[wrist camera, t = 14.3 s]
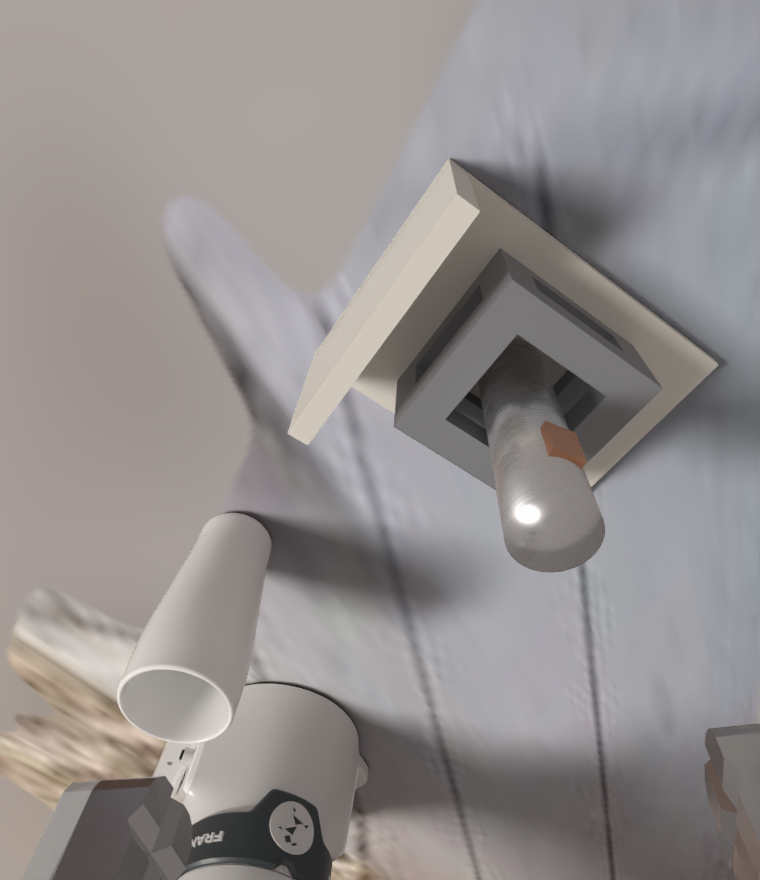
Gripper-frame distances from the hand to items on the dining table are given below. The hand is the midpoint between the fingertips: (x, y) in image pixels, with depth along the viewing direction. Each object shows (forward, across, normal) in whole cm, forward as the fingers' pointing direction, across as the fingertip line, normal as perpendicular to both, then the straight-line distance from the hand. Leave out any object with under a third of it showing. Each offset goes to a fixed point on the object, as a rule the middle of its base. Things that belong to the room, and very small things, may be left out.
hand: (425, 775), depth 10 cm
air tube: (+32, -4, +9) cm, 33 cm away
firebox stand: (+33, -4, +8) cm, 34 cm away
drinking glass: (+33, +18, +19) cm, 42 cm away
